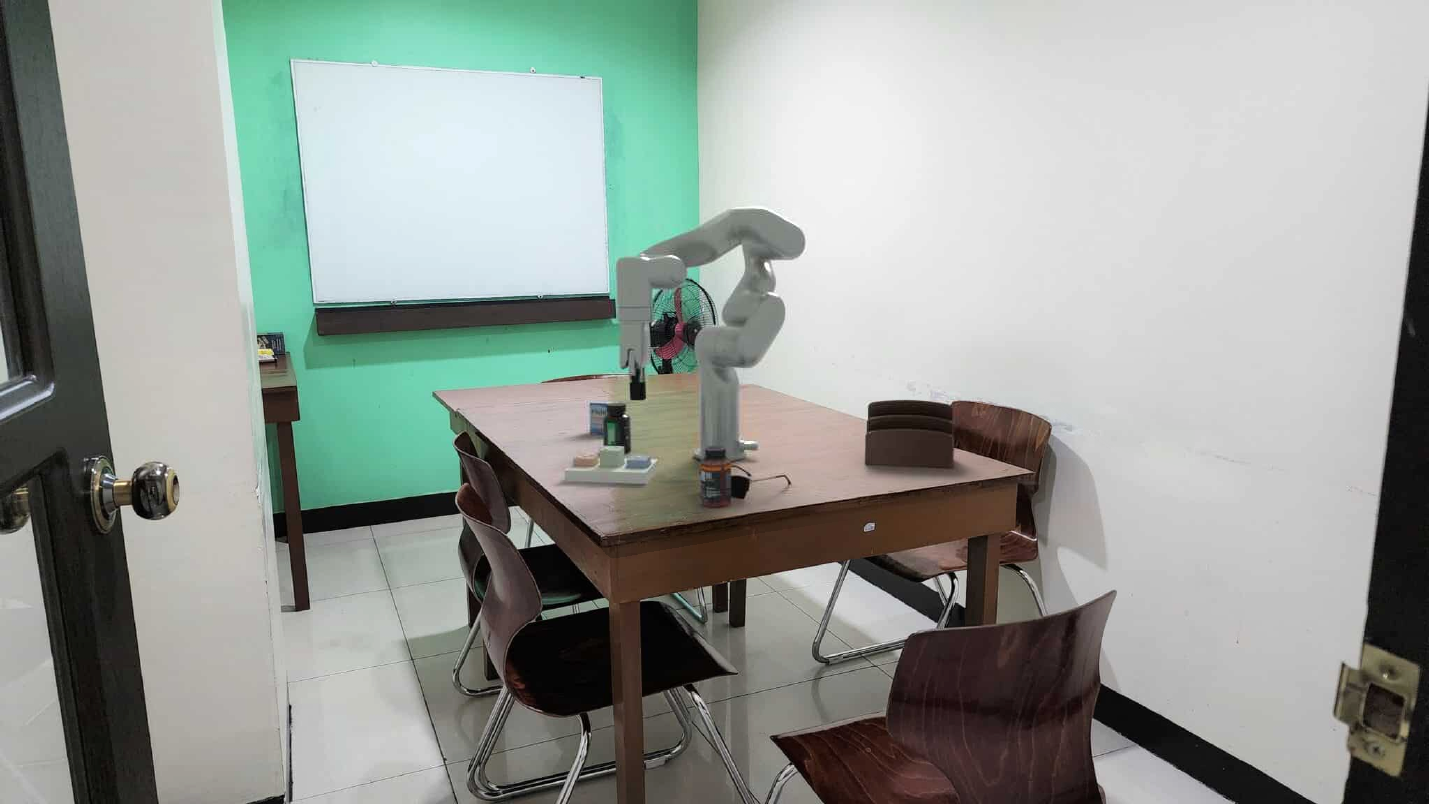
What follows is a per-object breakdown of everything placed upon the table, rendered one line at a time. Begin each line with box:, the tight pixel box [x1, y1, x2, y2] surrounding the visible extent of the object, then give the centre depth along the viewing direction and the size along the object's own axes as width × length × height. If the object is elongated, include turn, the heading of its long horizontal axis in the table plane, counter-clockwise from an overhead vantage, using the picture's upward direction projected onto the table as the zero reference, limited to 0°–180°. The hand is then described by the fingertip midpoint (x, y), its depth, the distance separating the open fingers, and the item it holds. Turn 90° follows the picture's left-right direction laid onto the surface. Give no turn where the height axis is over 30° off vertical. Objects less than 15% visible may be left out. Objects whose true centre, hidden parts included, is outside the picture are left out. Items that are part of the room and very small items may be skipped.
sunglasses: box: [698, 464, 792, 500], centre depth 181 cm, size 14×16×5 cm
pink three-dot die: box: [572, 453, 599, 467], centre depth 192 cm, size 4×4×4 cm
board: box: [564, 457, 659, 485], centre depth 191 cm, size 18×12×2 cm, turn 81°
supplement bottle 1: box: [602, 402, 632, 455], centre depth 213 cm, size 7×7×12 cm
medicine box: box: [589, 400, 623, 435], centre depth 236 cm, size 8×4×9 cm, turn 73°
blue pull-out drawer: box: [626, 454, 652, 469], centre depth 190 cm, size 4×4×4 cm
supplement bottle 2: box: [700, 446, 733, 509], centre depth 168 cm, size 6×6×11 cm
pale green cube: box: [599, 446, 625, 468], centre depth 190 cm, size 4×4×4 cm
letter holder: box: [864, 399, 955, 469], centre depth 201 cm, size 10×20×14 cm, turn 77°
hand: (638, 399), depth 188 cm, fingers closed
